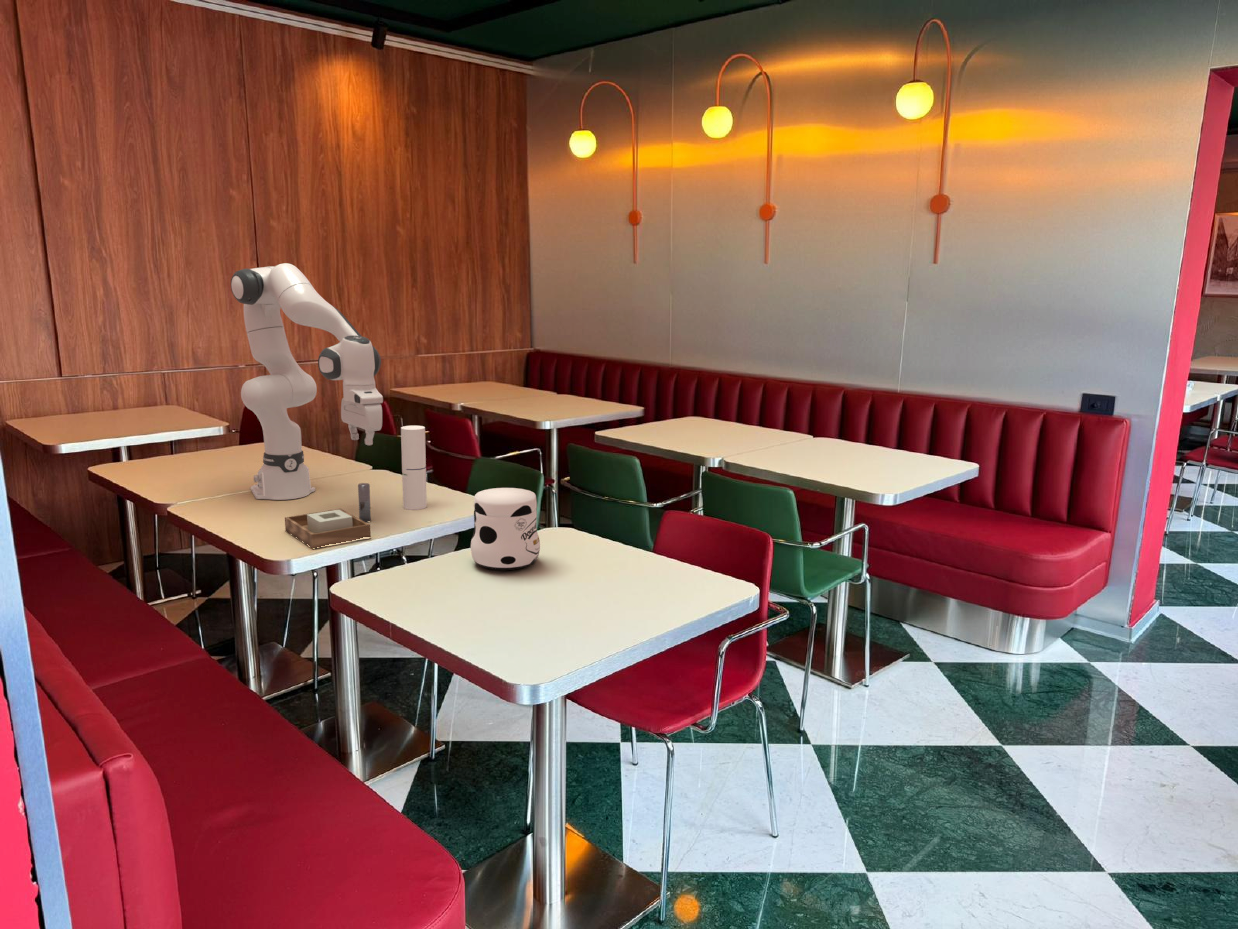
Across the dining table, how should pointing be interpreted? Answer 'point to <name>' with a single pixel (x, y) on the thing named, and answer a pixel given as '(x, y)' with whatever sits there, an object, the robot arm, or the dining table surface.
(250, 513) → the dining table surface
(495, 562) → the milk container
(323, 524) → the plate
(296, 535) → the box
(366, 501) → the peg
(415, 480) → the cylindrical container
